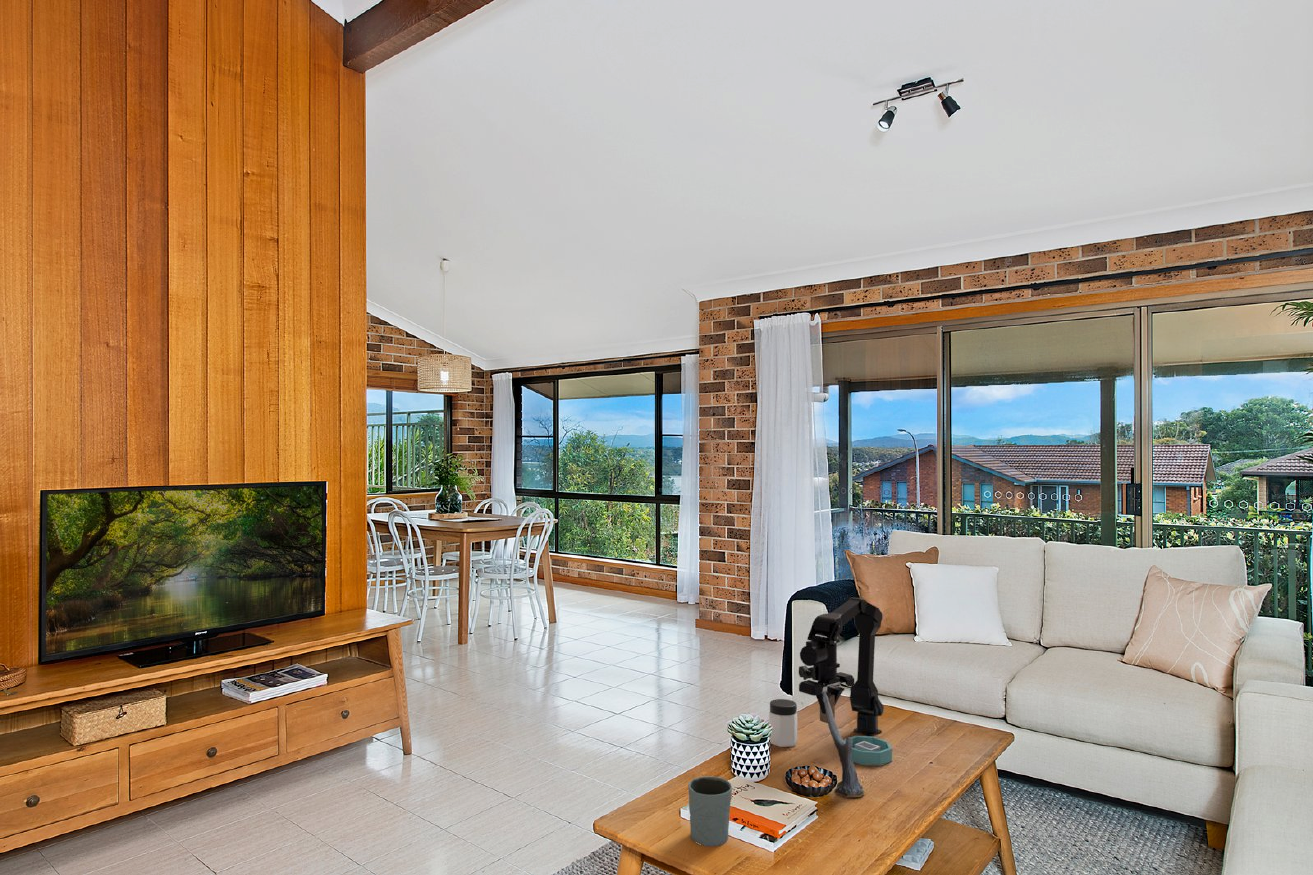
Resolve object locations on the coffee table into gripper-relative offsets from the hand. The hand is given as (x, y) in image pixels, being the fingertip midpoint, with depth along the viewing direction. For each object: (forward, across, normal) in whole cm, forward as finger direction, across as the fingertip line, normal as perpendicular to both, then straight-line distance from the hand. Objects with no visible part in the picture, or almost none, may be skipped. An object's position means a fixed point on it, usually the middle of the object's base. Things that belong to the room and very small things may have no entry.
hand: (827, 712), depth 232 cm
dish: (+12, -7, +9) cm, 16 cm away
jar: (+12, +4, -14) cm, 19 cm away
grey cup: (+12, +62, +18) cm, 66 cm away
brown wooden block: (+3, 0, 0) cm, 3 cm away
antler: (+12, +18, +20) cm, 29 cm away
